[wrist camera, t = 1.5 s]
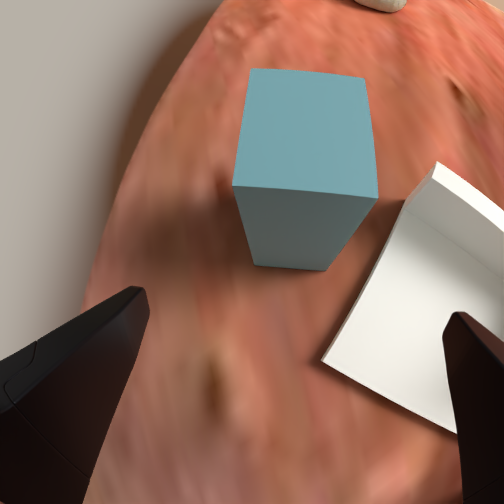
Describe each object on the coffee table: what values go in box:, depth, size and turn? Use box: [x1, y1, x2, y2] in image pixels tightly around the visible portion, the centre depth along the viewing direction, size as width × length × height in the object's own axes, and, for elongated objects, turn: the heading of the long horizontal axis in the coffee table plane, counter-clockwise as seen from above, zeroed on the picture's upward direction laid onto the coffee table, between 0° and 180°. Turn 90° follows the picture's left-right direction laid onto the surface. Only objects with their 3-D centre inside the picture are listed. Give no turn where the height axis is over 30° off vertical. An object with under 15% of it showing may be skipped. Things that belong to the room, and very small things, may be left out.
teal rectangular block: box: [232, 69, 378, 271], centre depth 17 cm, size 6×5×12 cm
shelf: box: [321, 161, 504, 434], centre depth 15 cm, size 14×18×8 cm
